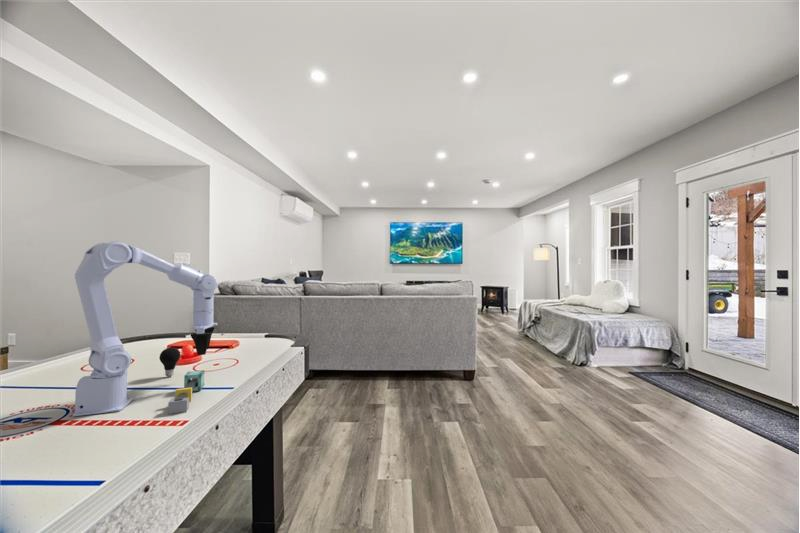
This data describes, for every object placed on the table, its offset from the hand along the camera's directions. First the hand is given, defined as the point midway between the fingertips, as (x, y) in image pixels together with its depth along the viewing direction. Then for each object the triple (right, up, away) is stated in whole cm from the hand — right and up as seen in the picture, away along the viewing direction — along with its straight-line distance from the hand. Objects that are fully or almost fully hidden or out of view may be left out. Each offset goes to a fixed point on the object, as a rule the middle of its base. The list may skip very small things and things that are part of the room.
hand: (203, 351), depth 103 cm
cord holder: (+4, -10, -14) cm, 17 cm away
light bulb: (-15, -10, +5) cm, 18 cm away
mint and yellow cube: (+2, -10, -7) cm, 12 cm away
